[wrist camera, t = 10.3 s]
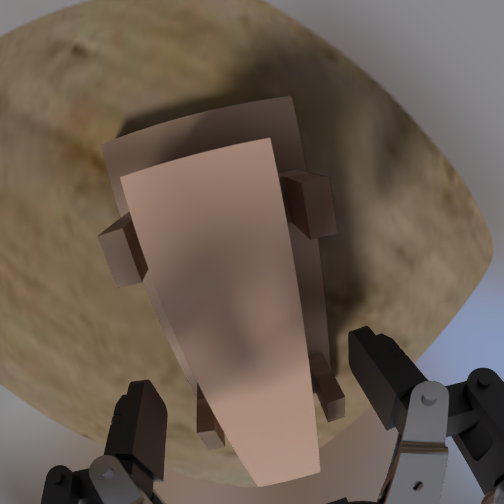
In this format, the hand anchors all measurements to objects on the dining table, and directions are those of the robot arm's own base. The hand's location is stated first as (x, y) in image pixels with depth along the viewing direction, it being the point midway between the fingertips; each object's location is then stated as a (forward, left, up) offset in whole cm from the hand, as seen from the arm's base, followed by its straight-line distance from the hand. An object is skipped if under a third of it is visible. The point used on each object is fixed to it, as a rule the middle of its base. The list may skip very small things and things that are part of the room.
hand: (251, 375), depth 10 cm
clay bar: (0, 0, -3) cm, 3 cm away
